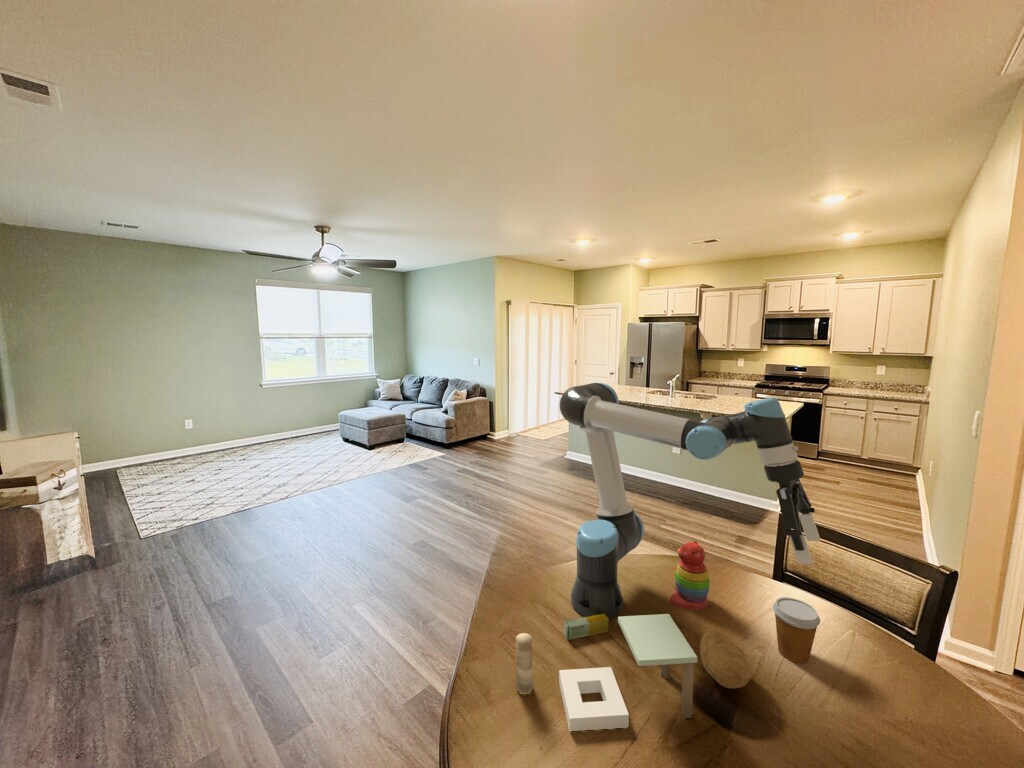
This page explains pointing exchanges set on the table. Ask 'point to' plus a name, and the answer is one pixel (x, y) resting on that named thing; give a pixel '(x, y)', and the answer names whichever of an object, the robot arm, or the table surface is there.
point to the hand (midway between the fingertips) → (810, 551)
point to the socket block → (592, 713)
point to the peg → (524, 663)
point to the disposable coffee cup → (795, 628)
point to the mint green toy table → (661, 649)
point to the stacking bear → (691, 578)
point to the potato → (724, 660)
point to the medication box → (585, 626)
